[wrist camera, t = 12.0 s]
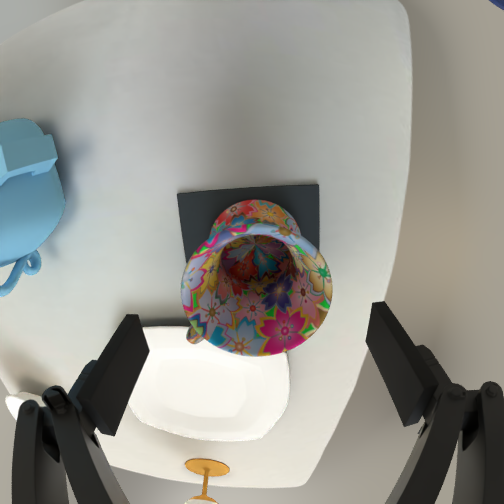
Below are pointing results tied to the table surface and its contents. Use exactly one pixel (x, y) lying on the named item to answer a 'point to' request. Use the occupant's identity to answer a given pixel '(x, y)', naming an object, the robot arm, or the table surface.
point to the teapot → (26, 196)
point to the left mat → (217, 201)
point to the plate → (208, 388)
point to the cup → (205, 477)
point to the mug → (255, 283)
